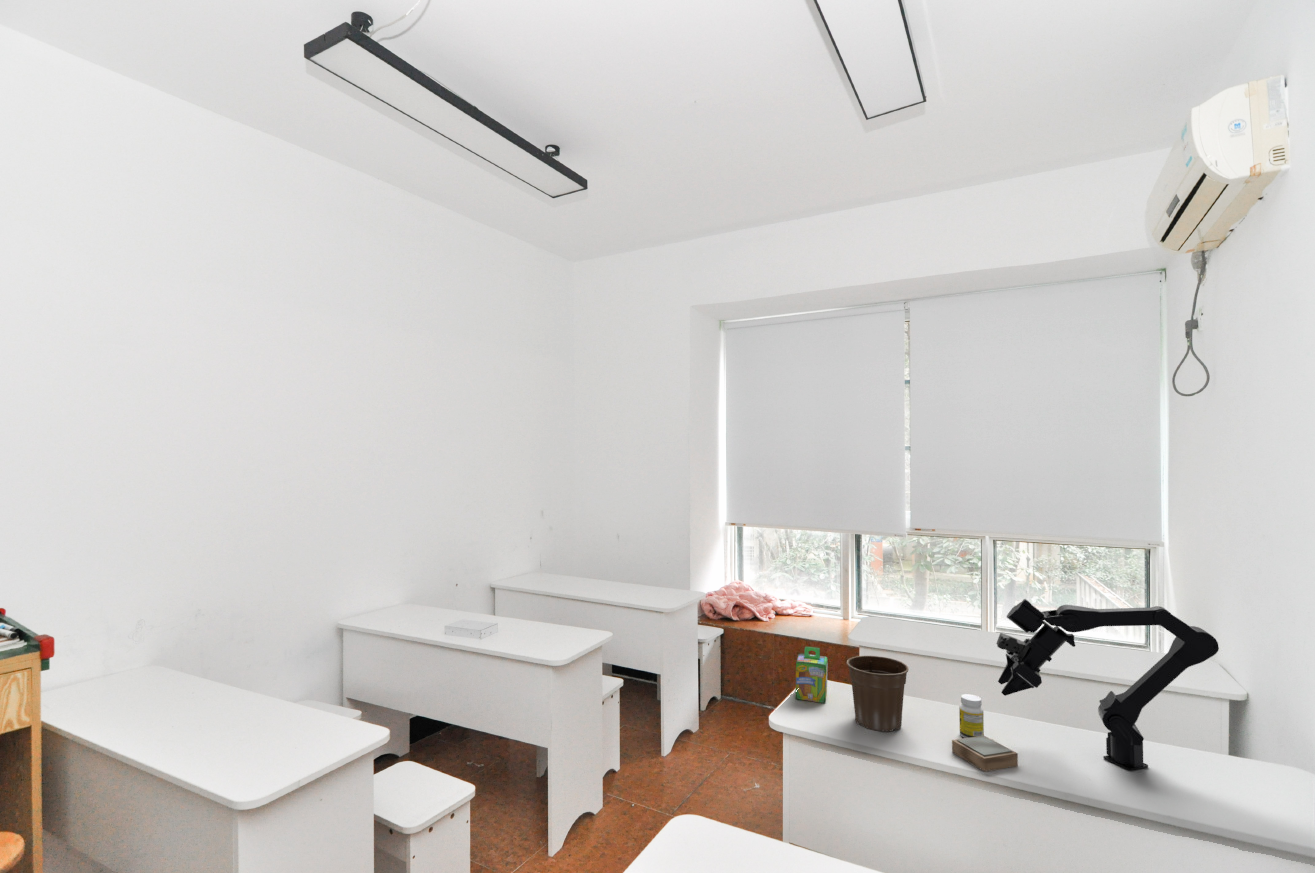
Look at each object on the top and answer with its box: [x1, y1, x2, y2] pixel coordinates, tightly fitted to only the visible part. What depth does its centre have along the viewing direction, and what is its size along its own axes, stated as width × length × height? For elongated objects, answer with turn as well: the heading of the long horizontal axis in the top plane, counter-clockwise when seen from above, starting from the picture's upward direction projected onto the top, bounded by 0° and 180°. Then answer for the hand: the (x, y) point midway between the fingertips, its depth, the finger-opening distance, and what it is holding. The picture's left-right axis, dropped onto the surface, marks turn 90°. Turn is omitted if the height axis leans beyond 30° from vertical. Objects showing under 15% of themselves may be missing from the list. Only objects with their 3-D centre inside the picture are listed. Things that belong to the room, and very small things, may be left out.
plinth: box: [951, 734, 1019, 773], centre depth 149 cm, size 10×10×3 cm
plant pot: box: [846, 655, 909, 732], centre depth 169 cm, size 16×16×16 cm
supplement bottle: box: [958, 693, 985, 738], centre depth 161 cm, size 6×6×10 cm
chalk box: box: [794, 646, 829, 704], centre depth 188 cm, size 9×9×15 cm
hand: (1001, 688), depth 160 cm, fingers open, 9 cm apart
